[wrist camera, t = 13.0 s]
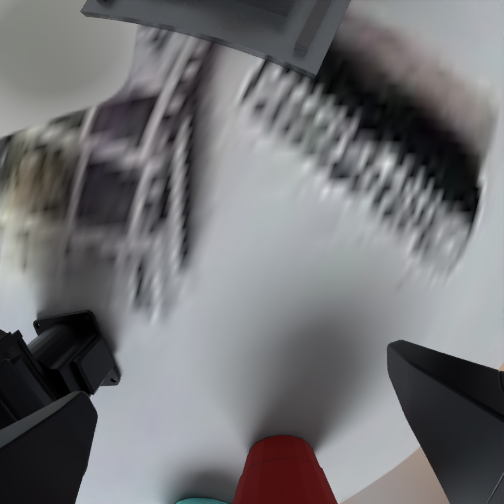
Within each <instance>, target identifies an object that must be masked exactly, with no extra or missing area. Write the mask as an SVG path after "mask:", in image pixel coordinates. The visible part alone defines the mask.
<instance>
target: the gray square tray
mask: <svg viewBox="0 0 504 504" xmlns="http://www.w3.org/2000/svg"><path fill="white" fill-rule="evenodd" d="M350 1H351V0H87V1H86V3H85V5H84V6H83V8H82V9H81V11H80V12H81V13H83V14H84V15H85V16H87V17H96V18H104V19H111V20H118V21H124V22H130V23H136V24H141V25H146V26H151V27H156V28H160V29H165V30H169V31H174V32H178V33H182V34H186V35H190V36H193V37H197V38H201V39H204V40H208V41H211V42H215V43H218V44H221V45H224V46H227V47H231V48H234V49H237V50H240V51H243V52H246V53H248V54H251V55H254V56H257V57H260V58H262V59H265V60H268V61H270V62H273V63H275V64H278V65H281V66H283V67H285V68H288V69H290V70H293V71H295V72H298V73H300V74H302V75H304V76H307V77H309V78H311V79H313V80H314V78H315V76H316V75H317V72H318V70H319V68H320V66H321V64H322V61H323V59H324V57H325V55H326V53H327V51H328V48H329V46H330V44H331V42H332V40H333V37H334V35H335V33H336V31H337V29H338V27H339V24H340V22H341V20H342V18H343V16H344V14H345V11H346V9H347V7H348V5H349V3H350Z"/></svg>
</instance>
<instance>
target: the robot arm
mask: <svg viewBox="0 0 504 504" xmlns="http://www.w3.org/2000/svg"><path fill="white" fill-rule="evenodd" d="M86 315H87V316H88V317H89V319H87V317H86ZM38 324H39V325H40V326H39V325H38ZM33 325H34V328H35V331H36V333H37V335H38V337H36V338H35V339H34V340H33V341H31V342H30V343H29V344H28V345H26V343H25V342H24V340H23V338H22V337H23V336H22V334H21V333H20V331H19V330H17V331H16V332H14V333H13V334H11V332H9V333H6V332H4V331H2V330H1V329H0V504H75V502H76V498H77V495H78V491H79V488H80V485H81V481H82V478H83V476H84V474H85V472H86V469H87V466H88V461H89V456H90V451H91V446H92V441H93V437H94V432H95V428H96V424H97V419H98V415H97V411H96V409H95V407H94V406H93V404H92V402H91V400H90V396H91V395H94V394H95V393H96V391H97V390H98V388H99V387H100V386H114V385H118V384H119V382H120V376H119V374H118V372H117V370H116V368H115V365H114V362H113V359H112V357H111V355H110V352H109V350H108V348H107V345H106V343H105V341H104V338H103V337H102V335H101V332H100V330H99V327H98V325H97V322H96V319H95V317H94V315H93V313H92V312H91V311H89V310H86V311H80V312H74V313H69V314H63V315H57V316H51V317H45V318H39V319H37V320H35V321H34V322H33ZM387 367H388V374H389V377H390V380H391V382H392V385H393V387H394V390H395V392H396V395H397V397H398V400H399V402H400V405H401V407H402V410H403V412H404V415H405V417H406V419H407V421H408V423H409V425H410V427H411V429H412V431H413V432H414V434H415V436H416V438H417V440H418V442H419V444H420V446H421V447H422V449H423V451H424V453H425V455H426V457H427V459H428V461H429V463H430V465H431V467H432V468H433V470H434V472H435V474H436V476H437V478H438V480H439V482H440V484H441V486H442V488H443V490H444V492H445V494H446V496H447V498H448V500H449V502H450V504H504V371H500V372H499V370H497V369H493V368H490V367H487V366H483V365H480V364H477V363H474V362H470V361H467V360H464V359H461V358H457V357H454V356H451V355H448V354H445V353H441V352H438V351H435V350H432V349H429V348H426V347H423V346H420V345H417V344H414V343H410V342H407V341H404V340H398V341H395V342H392V343H389V344H388V346H387ZM113 378H114V379H115V380H114V379H113Z"/></svg>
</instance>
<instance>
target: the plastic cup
mask: <svg viewBox="0 0 504 504" xmlns="http://www.w3.org/2000/svg"><path fill="white" fill-rule="evenodd" d="M232 504H338V503H337V501H336V499H335V497H334V494H333V492H332V490H331V487H330V485H329V483H328V481H327V478H326V476H325V474H324V471H323V469H322V468H321V467H320V465H319V463H318V461H317V458H316V456H315V454H314V451H313V449H312V448H311V447H310V445H309V444H308V443H307V442H306V441H304V440H303V439H301V438H298V437H294V436H287V435H277V436H273V437H269V438H265V439H263V440H261V441H259V442H258V443H256V444H255V445H254V446H253V447H252V449H251V450H250V452H249V454H248V455H247V459H246V462H245V466H244V470H243V474H242V475H241V477H240V480H239V483H238V487H237V490H236V493H235V497H234V500H233V503H232Z"/></svg>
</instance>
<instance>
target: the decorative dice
mask: <svg viewBox="0 0 504 504" xmlns="http://www.w3.org/2000/svg"><path fill="white" fill-rule="evenodd" d="M176 504H228V503H225V502H222V501H219V500H214V499H208V498H189V499H185V500H182V501H179V502H177V503H176Z"/></svg>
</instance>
